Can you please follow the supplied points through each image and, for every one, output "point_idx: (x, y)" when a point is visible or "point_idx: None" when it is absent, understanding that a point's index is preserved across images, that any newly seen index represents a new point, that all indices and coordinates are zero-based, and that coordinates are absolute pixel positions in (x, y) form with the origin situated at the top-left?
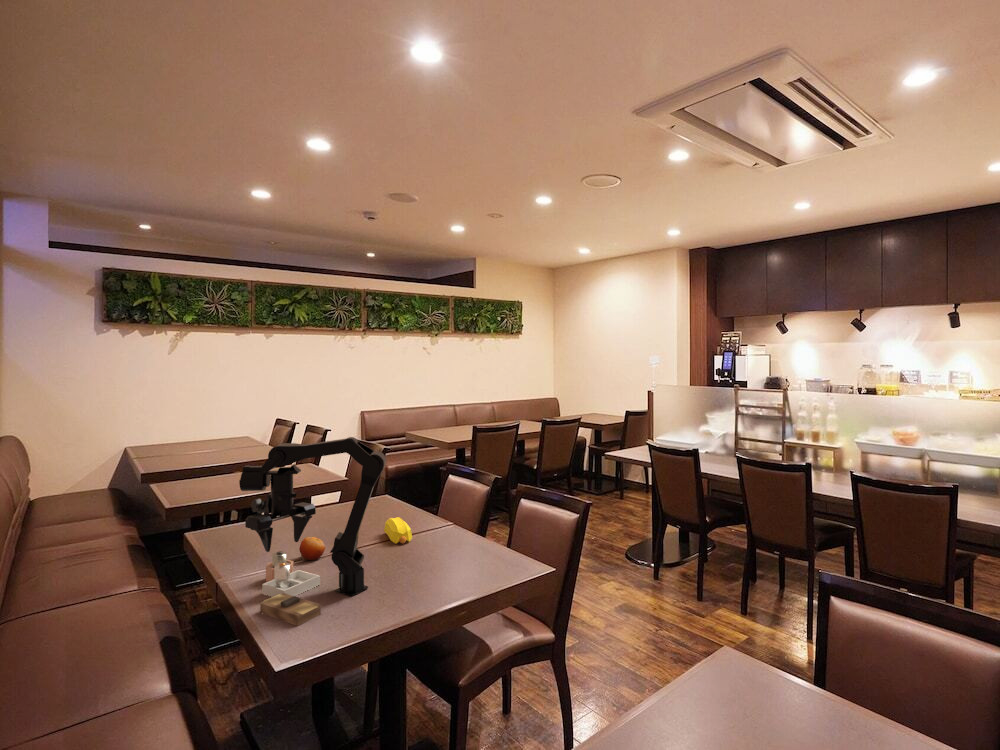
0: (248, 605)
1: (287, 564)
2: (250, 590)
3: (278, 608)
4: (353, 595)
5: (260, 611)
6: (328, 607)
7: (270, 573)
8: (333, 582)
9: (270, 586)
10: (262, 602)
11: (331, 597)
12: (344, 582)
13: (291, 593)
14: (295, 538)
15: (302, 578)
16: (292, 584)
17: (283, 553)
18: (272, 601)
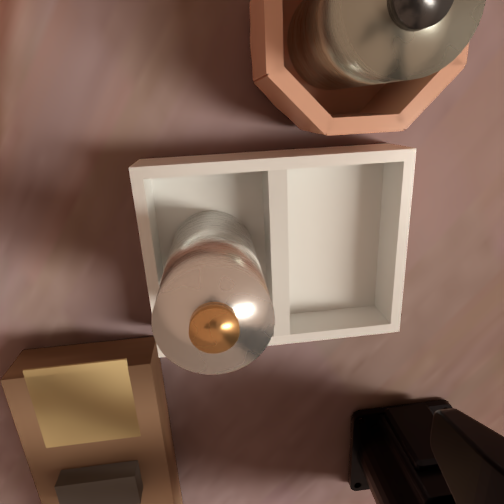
0: (15, 229)
1: (249, 339)
2: (120, 31)
3: (39, 482)
4: (358, 484)
5: (20, 354)
6: (239, 491)
7: (260, 51)
8: (431, 323)
9: (141, 246)
10: (11, 383)
11: (307, 435)
12: (374, 493)
13: None
14: (458, 466)
15: (382, 192)
16: (268, 266)
17: (443, 21)
18: (55, 406)
